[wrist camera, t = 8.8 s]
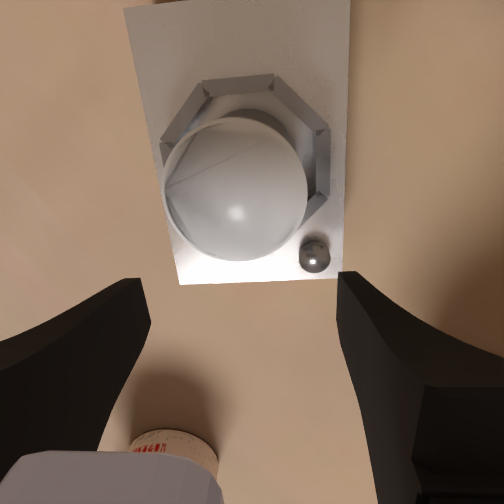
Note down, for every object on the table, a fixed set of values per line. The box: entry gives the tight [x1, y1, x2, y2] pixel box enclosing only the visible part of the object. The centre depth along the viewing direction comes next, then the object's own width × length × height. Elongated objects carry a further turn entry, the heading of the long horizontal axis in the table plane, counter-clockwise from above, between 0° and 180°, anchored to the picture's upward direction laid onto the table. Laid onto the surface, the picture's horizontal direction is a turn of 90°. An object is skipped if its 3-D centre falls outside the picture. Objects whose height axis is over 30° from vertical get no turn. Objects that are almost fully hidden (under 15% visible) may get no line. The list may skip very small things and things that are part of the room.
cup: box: [161, 108, 308, 262], centre depth 14 cm, size 5×5×6 cm
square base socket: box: [123, 0, 351, 285], centre depth 17 cm, size 13×9×6 cm
